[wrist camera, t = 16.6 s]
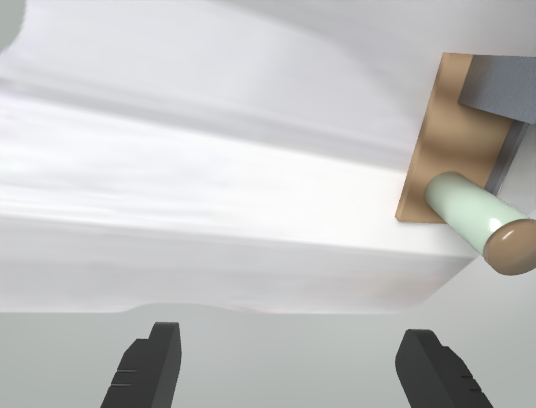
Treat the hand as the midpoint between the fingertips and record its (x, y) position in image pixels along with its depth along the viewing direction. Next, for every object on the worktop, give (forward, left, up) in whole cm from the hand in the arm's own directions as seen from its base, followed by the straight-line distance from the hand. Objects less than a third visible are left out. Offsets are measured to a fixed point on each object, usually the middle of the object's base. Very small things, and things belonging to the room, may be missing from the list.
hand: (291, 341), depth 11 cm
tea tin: (-7, +24, -29) cm, 38 cm away
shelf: (+1, +24, -30) cm, 39 cm away
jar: (+6, +24, -28) cm, 38 cm away
